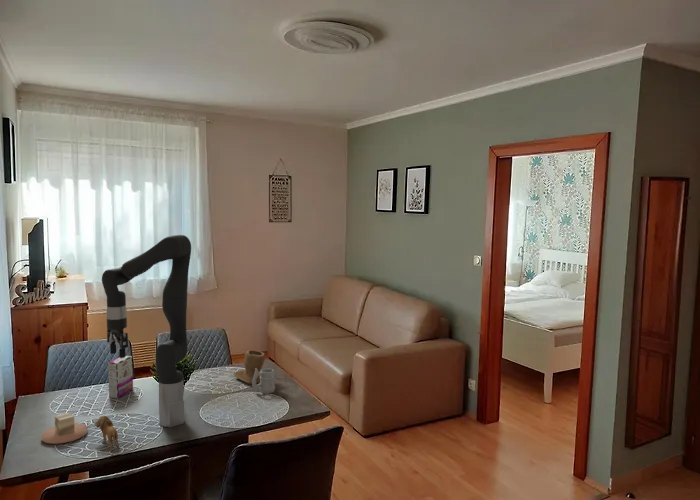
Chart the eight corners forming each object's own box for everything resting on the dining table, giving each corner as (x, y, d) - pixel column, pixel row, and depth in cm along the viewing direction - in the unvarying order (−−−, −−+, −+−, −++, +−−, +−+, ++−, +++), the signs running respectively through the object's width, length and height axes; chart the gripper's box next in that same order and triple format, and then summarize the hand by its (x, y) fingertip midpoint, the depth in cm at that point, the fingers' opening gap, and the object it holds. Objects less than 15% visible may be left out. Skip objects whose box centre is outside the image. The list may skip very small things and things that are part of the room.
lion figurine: (93, 440, 185) (92, 416, 184) (107, 435, 189) (107, 412, 188) (112, 453, 175) (112, 428, 175) (127, 447, 180) (127, 423, 179)
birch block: (74, 431, 188) (74, 416, 187) (59, 436, 184) (59, 420, 183) (69, 427, 191) (69, 412, 190) (55, 431, 187) (54, 416, 187)
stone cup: (269, 381, 250) (269, 352, 249) (247, 387, 242) (248, 356, 241) (253, 373, 262) (253, 345, 260) (232, 378, 254) (233, 349, 253)
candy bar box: (123, 389, 236) (123, 355, 234) (133, 390, 235) (133, 355, 233) (107, 397, 225) (107, 362, 224) (117, 398, 224) (117, 363, 223)
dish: (93, 436, 188) (93, 432, 188) (48, 449, 177) (48, 445, 177) (79, 423, 198) (79, 419, 198) (36, 435, 187) (36, 431, 187)
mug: (278, 391, 238) (278, 366, 237) (256, 396, 230) (256, 371, 229) (270, 386, 244) (270, 362, 242) (248, 391, 236) (248, 367, 235)
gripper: (133, 317, 203) (134, 357, 205) (118, 312, 213) (119, 350, 214) (115, 320, 198) (116, 361, 199) (100, 315, 207) (101, 354, 209)
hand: (117, 355), depth 207 cm, fingers open, 8 cm apart
